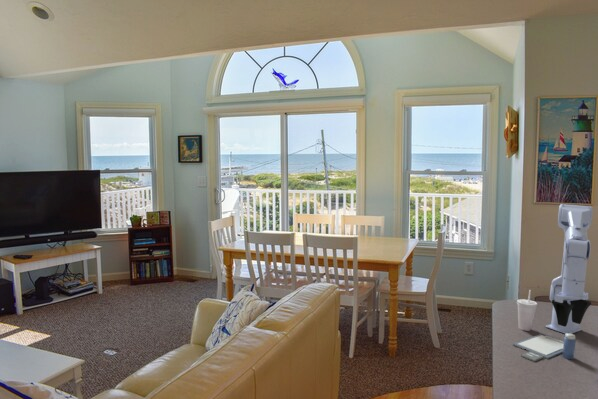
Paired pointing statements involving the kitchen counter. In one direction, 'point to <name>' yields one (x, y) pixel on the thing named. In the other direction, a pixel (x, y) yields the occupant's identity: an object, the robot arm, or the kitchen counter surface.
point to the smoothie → (526, 312)
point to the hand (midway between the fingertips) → (569, 324)
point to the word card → (532, 356)
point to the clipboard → (542, 345)
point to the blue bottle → (569, 346)
